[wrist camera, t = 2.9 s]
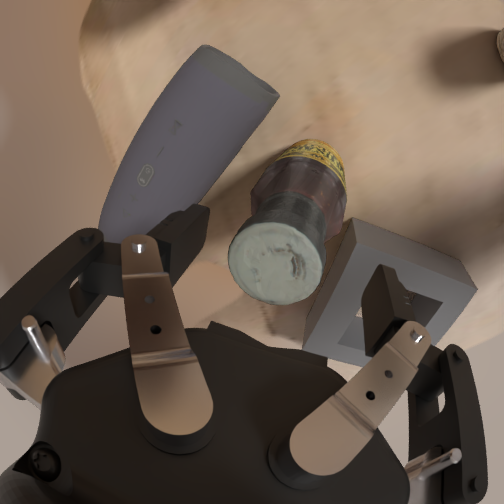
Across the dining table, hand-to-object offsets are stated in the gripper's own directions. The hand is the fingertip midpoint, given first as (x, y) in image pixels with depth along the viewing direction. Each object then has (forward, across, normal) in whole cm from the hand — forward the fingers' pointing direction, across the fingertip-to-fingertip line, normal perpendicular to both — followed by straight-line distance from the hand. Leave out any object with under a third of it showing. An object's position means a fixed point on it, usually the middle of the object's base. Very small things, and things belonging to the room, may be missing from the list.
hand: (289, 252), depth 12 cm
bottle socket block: (+18, -14, +12) cm, 26 cm away
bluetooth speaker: (+19, +13, +2) cm, 23 cm away
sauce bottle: (+19, 0, 0) cm, 19 cm away
